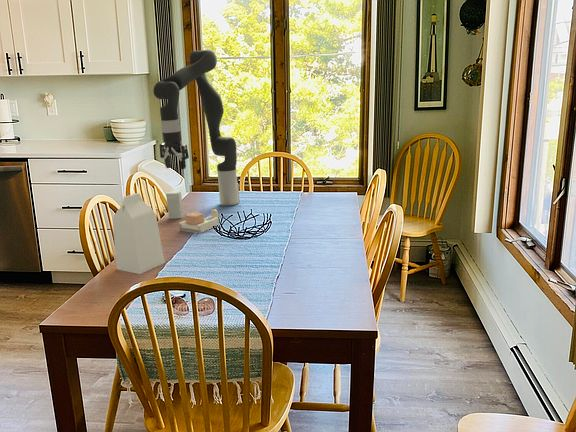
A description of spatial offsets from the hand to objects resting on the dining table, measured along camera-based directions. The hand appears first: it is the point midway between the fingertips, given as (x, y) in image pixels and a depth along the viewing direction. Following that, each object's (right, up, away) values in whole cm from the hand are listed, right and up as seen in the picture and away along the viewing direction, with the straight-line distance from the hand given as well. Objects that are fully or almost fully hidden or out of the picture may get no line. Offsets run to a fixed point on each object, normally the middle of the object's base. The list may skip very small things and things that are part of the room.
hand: (175, 168), depth 241 cm
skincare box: (-4, -21, +21) cm, 30 cm away
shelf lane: (+10, -25, +2) cm, 27 cm away
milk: (-4, -38, -40) cm, 56 cm away
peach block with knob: (+12, -24, +5) cm, 27 cm away
